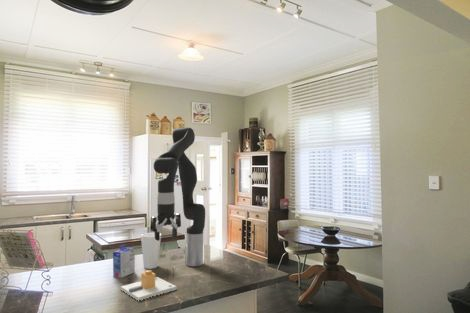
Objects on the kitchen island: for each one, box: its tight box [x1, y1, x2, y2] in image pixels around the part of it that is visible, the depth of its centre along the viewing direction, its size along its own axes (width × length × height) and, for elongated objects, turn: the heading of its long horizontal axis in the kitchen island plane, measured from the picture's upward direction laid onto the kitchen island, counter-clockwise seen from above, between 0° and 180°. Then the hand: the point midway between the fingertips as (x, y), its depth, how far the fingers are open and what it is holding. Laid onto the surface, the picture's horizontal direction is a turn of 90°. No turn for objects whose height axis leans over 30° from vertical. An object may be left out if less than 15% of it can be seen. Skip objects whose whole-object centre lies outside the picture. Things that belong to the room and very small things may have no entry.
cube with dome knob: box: [140, 269, 156, 289], centre depth 142 cm, size 4×4×6 cm
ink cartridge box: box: [112, 243, 136, 279], centre depth 162 cm, size 10×6×14 cm, turn 155°
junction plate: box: [120, 276, 177, 302], centre depth 142 cm, size 16×18×6 cm
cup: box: [140, 232, 162, 270], centre depth 174 cm, size 11×10×17 cm
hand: (166, 238), depth 146 cm, fingers open, 8 cm apart
